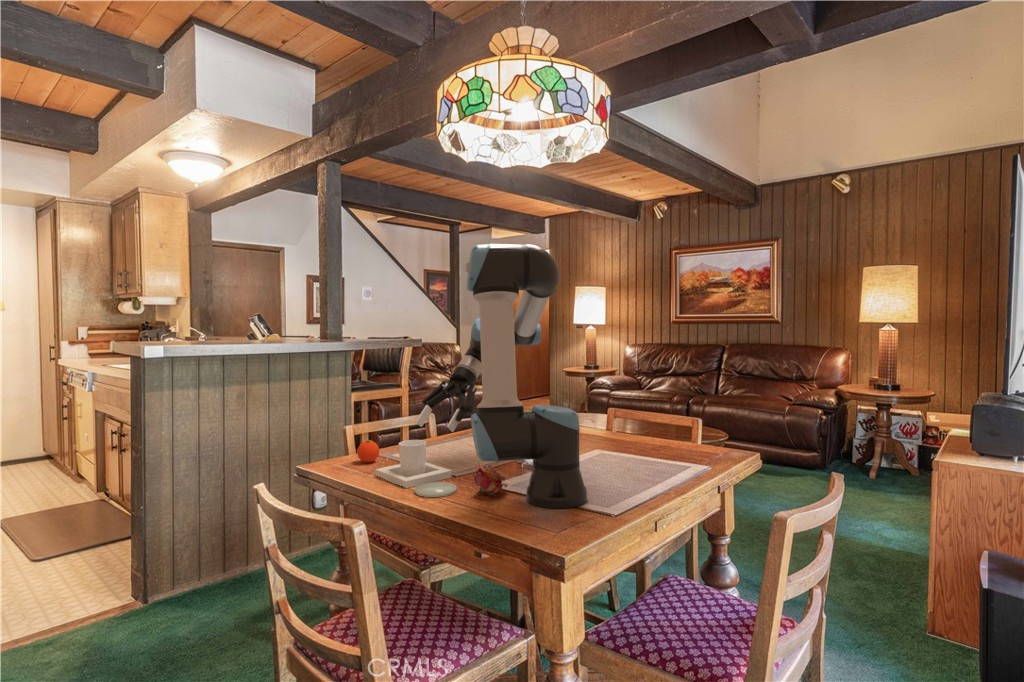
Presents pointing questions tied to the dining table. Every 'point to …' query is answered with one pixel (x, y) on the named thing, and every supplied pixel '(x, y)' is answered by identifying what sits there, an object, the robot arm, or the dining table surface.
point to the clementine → (368, 451)
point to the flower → (488, 479)
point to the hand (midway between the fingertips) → (433, 426)
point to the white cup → (412, 457)
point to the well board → (393, 475)
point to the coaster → (435, 489)
